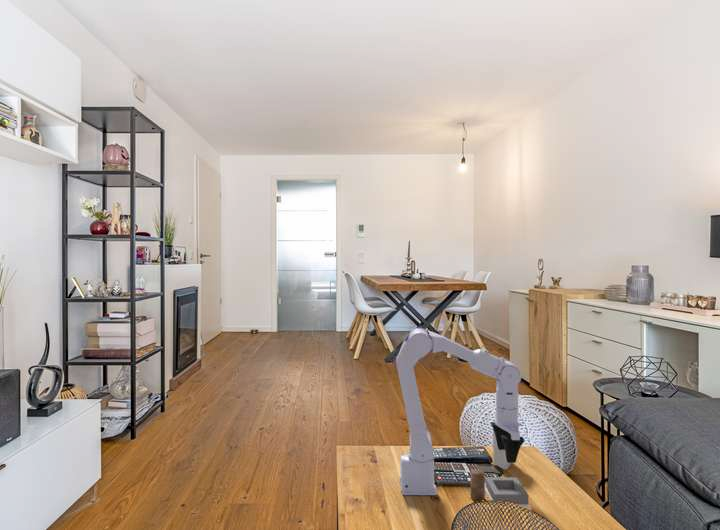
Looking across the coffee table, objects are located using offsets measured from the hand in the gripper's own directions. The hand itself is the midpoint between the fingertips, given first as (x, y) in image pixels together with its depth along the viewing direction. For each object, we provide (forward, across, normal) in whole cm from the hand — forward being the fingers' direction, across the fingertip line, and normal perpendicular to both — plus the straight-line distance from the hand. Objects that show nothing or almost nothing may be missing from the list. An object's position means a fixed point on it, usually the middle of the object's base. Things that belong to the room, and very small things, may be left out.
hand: (506, 455), depth 116 cm
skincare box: (+10, +16, -4) cm, 19 cm away
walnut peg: (+10, -3, +9) cm, 14 cm away
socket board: (+10, -3, +1) cm, 11 cm away
